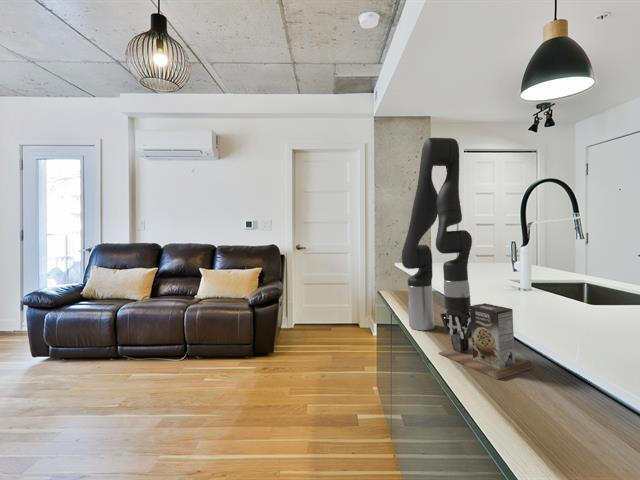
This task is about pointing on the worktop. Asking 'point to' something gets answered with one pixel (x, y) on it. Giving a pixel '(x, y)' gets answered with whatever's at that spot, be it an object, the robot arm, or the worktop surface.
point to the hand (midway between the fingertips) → (460, 348)
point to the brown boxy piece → (492, 335)
